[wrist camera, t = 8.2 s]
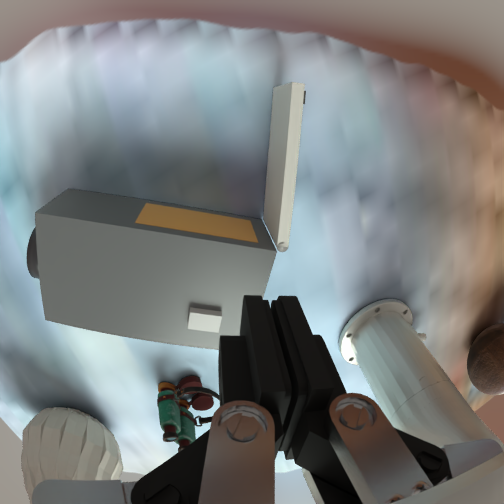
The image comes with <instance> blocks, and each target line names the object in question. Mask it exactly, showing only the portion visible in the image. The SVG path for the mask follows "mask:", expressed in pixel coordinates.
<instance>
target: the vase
mask: <svg viewBox="0 0 504 504" xmlns="http://www.w3.org/2000/svg"><path fill="white" fill-rule="evenodd" d="M21 462H22V463H21V466H22V471H23V477H24V484H25V488H26V491H27V493H28V496H29V500H30V504H32V494H33V490H34V489H35V487H36V486H37V484H39V483H40V482H42V481H44V480H50V479H59V480H118V479H119V477H120V475H121V472H122V470H123V464H122V459H121V454H120V449H119V446H118V444H117V441H116V440H115V437H114V435H113V434H112V433H111V432H110V431H109V430H108V429H107V428H106V427H105V426H104V425H103V424H101V423H100V422H99V421H98V420H97V419H94V417H91V416H90V415H89V414H85V412H81V411H80V410H75V409H71V408H63V407H61V408H57V407H54V408H45V409H43V410H42V411H40V412H39V414H37V415H36V416H35V417H34V418H33V419H32V420H31V421H30V422H29V424H28V425H27V426H26V427H25V429H24V430H23V450H22V455H21Z"/></svg>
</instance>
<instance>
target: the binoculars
mask: <svg viewBox="0 0 504 504" xmlns="http://www.w3.org/2000/svg"><path fill="white" fill-rule="evenodd" d="M178 388H179V389H178ZM158 392H159V394H158V399H157V404H158V408H159V418H160V425H161V428H162V430H163V431H164V432H165V433H164V434H163V441H165V442H172V441H174V442H176V443H177V444H179V446H180V447H179V448H178V452H180V451H181V450H183V449H184V448H185V447H187V446H188V445H189V444H191V443H192V442H194V441H195V440H196V437H195V426H194V425H196V426H202V424H203V423H208V422H211V421H212V418H213V416H212V417H206V418H201V416H197V417H195V418H194V417H193V414H192V413H191V412H190V411H188V409H189V407H190V405H192V407H193V408H194V409H195V410H200V411H203V410H208V409H210V408H211V407H212V406H213V404H214V401H213V397H212V396H214V397H216V398H217V399H218V400H220V396H219V395H218V394H217V393H216V392H214V391H212V390H210V389H208V388H203V387H202V383H201V380H200V378H199V377H197V376H188V377H185V378H183V379H182V380H181V381H180V382H179V384H178V385H176V386H175V385H173V384H171V383H167V382H162V383H160V384H159V385H158ZM197 392H199V393H197ZM176 393H177V396H176V395H175V394H176ZM194 393H197V394H195V395H194V396H193V397H192V399H191V401H190V402H188V401H186V400H182V399H180V397H182V396H183V395H184V394H194ZM198 417H199V424H201V425H197V421H196V418H198Z"/></svg>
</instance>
